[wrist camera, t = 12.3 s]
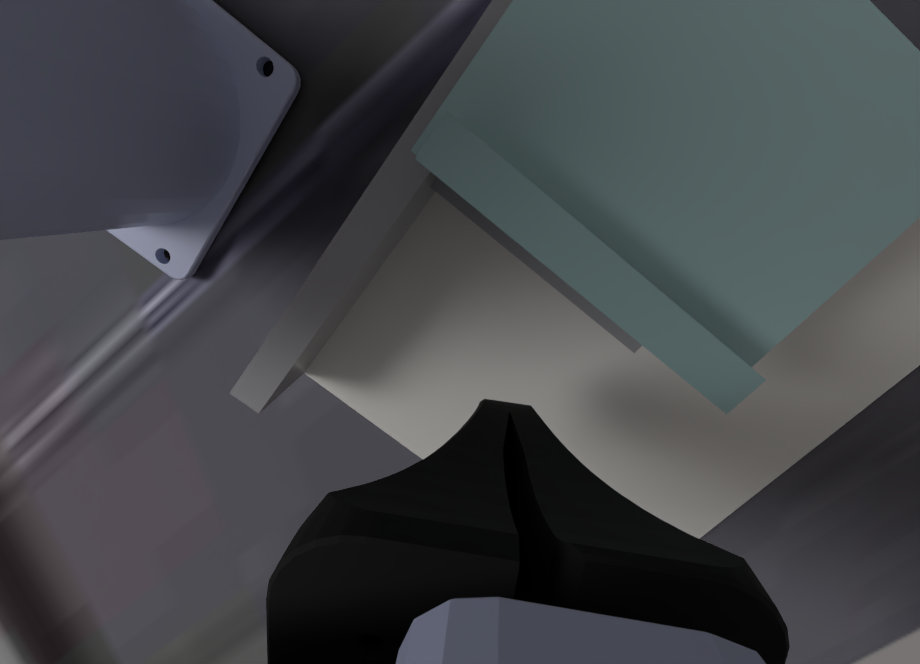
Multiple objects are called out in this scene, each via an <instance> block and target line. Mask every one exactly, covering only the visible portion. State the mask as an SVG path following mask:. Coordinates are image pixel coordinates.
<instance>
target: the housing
mask: <svg viewBox="0 0 920 664" xmlns="http://www.w3.org/2000/svg"><path fill="white" fill-rule="evenodd" d="M512 1H513V0H492V1H491V3H490V4H489V6H488V7H487V9H486V10H485V12H484V13H483V15H482V16H481V18H480V19H479V21H478V22H477V24H476V25H475V27H474V28H473V30H472V31H471V33H470V34H469V36H468V37H467V39H466V40H465V42H464V43H463V45H462V46H461V48H460V49H459V51H458V52H457V54H456V55H455V57H454V58H453V60H452V61H451V63H450V64H449V66H448V67H447V69H446V70H445V72H444V73H443V75H442V76H441V78H440V79H439V81H438V82H437V84H436V85H435V87H434V88H433V90H432V91H431V93H430V94H429V96H428V97H427V99H426V100H425V102H424V103H423V105H422V106H421V108H420V109H419V111H418V112H417V114H416V115H415V117H414V118H413V120H412V121H411V123H410V124H409V126H408V127H407V129H406V130H405V132H404V133H403V135H402V136H401V138H400V139H399V141H398V142H397V144H396V145H395V147H394V148H393V150H392V151H391V153H390V154H389V156H388V157H387V159H386V160H385V162H384V163H383V165H382V166H381V168H380V169H379V171H378V172H377V174H376V175H375V177H374V178H373V180H372V181H371V182H370V184H369V185H368V187H367V188H366V190H365V191H364V193H363V194H362V196H361V197H360V199H359V200H358V202H357V203H356V205H355V206H354V208H353V209H352V211H351V212H350V214H349V215H348V217H347V218H346V220H345V221H344V223H343V224H342V226H341V227H340V229H339V230H338V232H337V233H336V235H335V236H334V238H333V239H332V241H331V242H330V244H329V245H328V247H327V248H326V250H325V251H324V253H323V254H322V256H321V257H320V259H319V260H318V262H317V263H316V265H315V266H314V268H313V269H312V271H311V272H310V274H309V275H308V277H307V278H306V280H305V281H304V283H303V284H302V286H301V287H300V289H299V290H298V292H297V293H296V295H295V296H294V298H293V299H292V301H291V302H290V304H289V305H288V307H287V308H286V310H285V311H284V313H283V314H282V316H281V317H280V319H279V320H278V322H277V323H276V325H275V326H274V328H273V329H272V331H271V332H270V334H269V335H268V337H267V338H266V340H265V341H264V343H263V344H262V346H261V347H260V349H259V350H258V352H257V353H256V355H255V356H254V358H253V359H252V361H251V362H250V364H249V365H248V367H247V368H246V370H245V371H244V373H243V374H242V376H241V377H240V379H239V380H238V382H237V383H236V385H235V386H234V388H233V389H232V391H231V392H230V394H231V395H233V396H234V397H236V398H237V399H238V400H240V401H241V402H243V403H244V404H246V405H247V406H248V407H250V408H251V409H253V410H254V411H255V412H257V413H258V414H259V413H260V412H261V411H262V410H264V409H265V408H266V407H267V406H268V405H269V404H270V403H271V402H272V401H273V400H275V399H276V398H277V397H278V396H279V395H280V394H281V393H282V392H283V391H285V390H286V389H287V388H288V387H289V386H290V385H291V384H292V383H293V382H295V381H296V380H297V379H298V378H299V377H300V376H301V375H302V374H303V373H305V374H306V375H307V376H309V377H310V378H312V379H313V380H314V381H316V382H317V383H318V384H320V385H321V386H323V387H324V388H325V389H327V390H328V391H329V392H331V393H332V394H334V395H335V396H336V397H338V398H339V399H340V400H342V401H343V402H345V403H346V404H347V405H349V406H350V407H351V408H353V409H354V410H356V411H357V412H358V413H360V414H361V415H362V416H364V417H365V418H367V419H368V420H369V421H371V422H372V423H373V424H375V425H376V426H378V427H379V428H380V429H382V430H383V431H384V432H386V433H387V434H389V435H390V436H391V437H393V438H394V439H395V440H397V441H398V442H400V443H401V444H402V445H404V446H405V447H406V448H408V449H409V450H410V451H412V452H413V453H415V454H416V455H417V456H419V457H420V458H421V459H425V458H426V457H428V456H429V455H431V454H432V453H433V452H435V451H436V450H437V449H439V448H440V447H441V446H442V445H444V444H445V443H446V442H447V441H448V440H449V439H450V438H451V437H452V436H453V435H455V434H456V433H457V432H458V431H459V430H460V429H461V428H462V426H463V425H464V424H465V423H466V422H467V421H468V419H469V418H470V417H471V416H472V414H473V413H474V412H475V410H476V409H477V407H478V405H479V402H480V401H482V400H483V399H490V400H497V401H503V402H510V403H517V404H524V405H531V406H532V407H533V409H534V410H535V411H536V412H537V414H538V415H539V416H540V418H541V419H542V420H543V421H544V423H545V424H546V425H547V426H548V428H549V429H550V430H551V431H552V432H553V434H554V435H555V436H556V437H557V438H558V439H559V440H560V441H561V443H562V444H563V445H564V446H565V447H566V448H567V449H568V450H569V451H570V452H571V453H572V454H573V455H574V456H575V457H576V458H577V459H578V460H579V461H580V462H581V463H582V464H583V465H584V466H586V467H587V468H588V469H589V470H590V471H591V472H592V473H594V474H595V475H596V476H597V477H599V478H600V479H601V480H602V481H604V482H605V483H606V484H607V485H609V486H610V487H611V488H613V489H614V490H615V491H617V492H618V493H620V494H621V495H623V496H624V497H626V498H627V499H629V500H630V501H632V502H633V503H635V504H636V505H638V506H639V507H641V508H642V509H644V510H646V511H647V512H649V513H651V514H653V515H654V516H656V517H658V518H659V519H661V520H663V521H665V522H667V523H669V524H671V525H673V526H674V527H676V528H678V529H680V530H682V531H684V532H686V533H688V534H690V535H692V536H694V537H696V538H699V539H700V538H701V537H702V536H703V535H705V534H706V533H707V532H708V531H710V530H711V529H712V528H714V527H715V526H716V525H717V524H719V523H720V522H721V521H722V520H724V519H725V518H726V517H727V516H729V515H730V514H731V513H733V512H734V511H735V510H736V509H738V508H739V507H740V506H741V505H743V504H744V503H745V502H747V501H748V500H749V499H750V498H752V497H753V496H754V495H755V494H757V493H758V492H759V491H761V490H762V489H763V488H764V487H766V486H767V485H768V484H769V483H771V482H772V481H773V480H774V479H776V478H777V477H778V476H780V475H781V474H782V473H783V472H785V471H786V470H787V469H788V468H790V467H791V466H792V465H794V464H795V463H796V462H797V461H799V460H800V459H801V458H802V457H804V456H805V455H806V454H808V453H809V452H810V451H811V450H813V449H814V448H815V447H816V446H818V445H819V444H820V443H821V442H823V441H824V440H825V439H827V438H828V437H829V436H830V435H832V434H833V433H834V432H835V431H837V430H838V429H839V428H841V427H842V426H843V425H844V424H846V423H847V422H848V421H849V420H851V419H852V418H853V417H855V416H856V415H857V414H858V413H860V412H861V411H862V410H863V409H865V408H866V407H867V406H868V405H870V404H871V403H872V402H874V401H875V400H876V399H877V398H879V397H880V396H881V395H882V394H884V393H885V392H886V391H888V390H889V389H890V388H891V387H893V386H894V385H895V384H896V383H898V382H899V381H900V380H902V379H903V378H904V377H905V376H907V375H908V374H909V373H910V372H912V371H913V370H914V369H915V368H917V367H918V366H919V365H920V218H919V219H917V220H916V221H915V222H914V223H913V224H912V225H911V226H910V227H908V228H907V229H906V230H905V231H904V232H903V233H902V234H901V235H900V236H898V237H897V238H896V239H895V240H894V241H893V242H892V243H891V244H889V245H888V246H887V247H886V248H885V249H884V250H883V251H882V252H880V253H879V254H878V255H877V256H876V257H875V258H874V259H873V260H871V261H870V262H869V263H868V264H867V265H866V266H865V267H864V268H862V269H861V270H860V271H859V272H858V273H857V274H856V275H855V276H854V277H852V278H851V279H850V280H849V281H848V282H847V283H846V284H845V285H843V286H842V287H841V288H840V289H839V290H838V291H837V292H836V293H834V294H833V295H832V296H831V297H830V298H829V299H828V300H827V301H825V302H824V303H823V304H822V305H821V306H820V307H819V308H818V309H817V310H815V311H814V312H813V313H812V314H811V315H810V316H809V317H808V318H806V319H805V320H804V321H803V322H802V323H801V324H800V325H799V326H797V327H796V328H795V329H794V330H793V331H792V332H791V333H790V334H788V335H787V336H786V337H785V338H784V339H783V340H782V341H781V342H779V343H778V344H777V345H776V346H775V347H774V348H773V349H772V350H771V351H769V352H768V353H767V354H766V355H765V356H764V357H763V358H762V359H760V360H759V361H758V362H757V363H756V364H755V365H754V366H753V367H751V368H753V369H754V370H755V371H756V372H757V373H758V374H760V375H761V376H762V377H763V378H764V379H766V381H765V382H763V383H762V384H761V385H760V386H759V387H758V388H756V389H755V390H754V391H753V392H752V393H751V394H750V395H748V396H747V397H746V398H745V399H744V400H743V401H742V402H740V403H739V404H738V405H737V406H736V407H735V408H734V409H732V410H731V411H730V412H729V413H728V414H725V413H724V412H723V411H722V410H720V409H719V408H718V407H717V406H716V405H714V404H713V403H712V402H711V401H709V400H708V399H707V398H706V397H705V396H703V395H702V394H701V393H700V392H699V391H697V390H696V389H695V388H694V387H692V386H691V385H690V384H689V383H688V382H686V381H685V380H684V379H683V378H681V377H680V376H679V375H678V374H677V373H675V372H674V371H673V370H672V369H670V368H669V367H668V366H667V365H666V364H664V363H663V362H662V361H661V360H660V359H658V358H657V357H656V356H655V355H653V354H652V353H651V352H650V351H649V350H647V349H646V348H645V347H644V346H642V345H641V344H640V343H639V342H638V341H636V340H635V339H634V338H633V337H631V336H630V335H629V334H628V333H627V332H625V331H624V330H623V329H622V328H621V327H619V326H618V325H617V324H616V323H614V322H613V321H612V320H611V319H610V318H608V317H607V316H606V315H605V314H603V313H602V312H601V311H600V310H599V309H597V308H596V307H595V306H594V305H592V304H591V303H590V302H589V301H588V300H586V299H585V298H584V297H583V296H581V295H580V294H579V293H578V292H577V291H575V290H574V289H573V288H572V287H571V286H569V285H568V284H567V283H566V282H564V281H563V280H562V279H561V278H560V277H558V276H557V275H556V274H555V273H553V272H552V271H551V270H550V269H549V268H547V267H546V266H545V265H544V264H542V263H541V262H540V261H539V260H538V259H536V258H535V257H534V256H533V255H532V254H530V253H529V252H528V251H527V250H525V249H524V248H523V247H522V246H521V245H519V244H518V243H517V242H516V241H514V240H513V239H512V238H511V237H510V236H508V235H507V234H506V233H505V232H503V231H502V230H501V229H500V228H499V227H497V226H496V225H495V224H494V223H492V222H491V221H490V220H489V219H488V218H486V217H485V216H484V215H483V214H482V213H480V212H479V211H478V210H477V209H475V208H474V207H473V206H472V205H471V204H469V203H468V202H467V201H466V200H464V199H463V198H462V197H461V196H460V195H458V194H457V193H456V192H455V191H453V190H452V189H451V188H450V187H449V186H447V185H446V184H445V183H444V182H443V181H441V180H440V179H439V178H438V177H436V176H435V175H434V174H433V173H432V172H430V171H429V170H428V169H427V168H425V167H424V166H423V165H422V164H421V163H419V162H418V161H417V160H416V159H415V158H416V157H417V155H415V154H414V153H413V152H412V151H411V149H412V148H413V146H414V145H415V143H416V142H417V140H418V139H419V137H420V136H421V134H422V133H423V131H424V130H425V128H426V127H427V126H428V124H429V123H430V121H431V120H432V118H433V117H434V115H435V114H436V112H437V111H438V109H439V108H440V106H441V105H442V104H443V102H444V101H445V99H446V98H447V96H448V95H449V93H450V92H451V90H452V89H453V87H454V86H455V84H456V83H457V82H458V80H459V79H460V77H461V76H462V74H463V73H464V71H465V70H466V68H467V67H468V65H469V64H470V62H471V61H472V60H473V58H474V57H475V55H476V54H477V52H478V51H479V49H480V48H481V46H482V45H483V43H484V42H485V40H486V39H487V38H488V36H489V35H490V33H491V32H492V30H493V29H494V27H495V26H496V24H497V23H498V21H499V20H500V18H501V17H502V16H503V14H504V13H505V11H506V10H507V8H508V7H509V5H510V4H511V2H512Z"/></svg>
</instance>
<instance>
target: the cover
mask: <svg viewBox="0 0 920 664" xmlns="http://www.w3.org/2000/svg"><path fill="white" fill-rule="evenodd" d="M411 151H412V152H413V153H414V154H415V155H417V157H416V158H415V159H416V160H417V161H418V162H419V163H421V164H422V165H423V166H424V167H425V168H427V169H428V170H429V171H430V172H432V173H433V174H434V175H435V176H436V177H438V178H439V179H440V180H441V181H443V182H444V183H445V184H446V185H447V186H449V187H450V188H451V189H452V190H453V191H455V192H456V193H457V194H458V195H460V196H461V197H462V198H463V199H464V200H466V201H467V202H468V203H469V204H471V205H472V206H473V207H474V208H475V209H477V210H478V211H479V212H480V213H482V214H483V215H484V216H485V217H486V218H488V219H489V220H490V221H491V222H492V223H494V224H495V225H496V226H497V227H499V228H500V229H501V230H502V231H503V232H505V233H506V234H507V235H508V236H510V237H511V238H512V239H513V240H514V241H516V242H517V243H518V244H519V245H521V246H522V247H523V248H524V249H525V250H527V251H528V252H529V253H530V254H532V255H533V256H534V257H535V258H536V259H538V260H539V261H540V262H541V263H542V264H544V265H545V266H546V267H547V268H549V269H550V270H551V271H552V272H553V273H555V274H556V275H557V276H558V277H560V278H561V279H562V280H563V281H564V282H566V283H567V284H568V285H569V286H571V287H572V288H573V289H574V290H575V291H577V292H578V293H579V294H580V295H581V296H583V297H584V298H585V299H586V300H588V301H589V302H590V303H591V304H592V305H594V306H595V307H596V308H597V309H599V310H600V311H601V312H602V313H603V314H605V315H606V316H607V317H608V318H610V319H611V320H612V321H613V322H614V323H616V324H617V325H618V326H619V327H621V328H622V329H623V330H624V331H625V332H627V333H628V334H629V335H630V336H631V337H633V338H634V339H635V340H636V341H638V342H639V343H640V344H641V345H642V346H644V347H645V348H646V349H647V350H649V351H650V352H651V353H652V354H653V355H655V356H656V357H657V358H658V359H660V360H661V361H662V362H663V363H664V364H666V365H667V366H668V367H669V368H670V369H672V370H673V371H674V372H675V373H677V374H678V375H679V376H680V377H681V378H683V379H684V380H685V381H686V382H688V383H689V384H690V385H691V386H692V387H694V388H695V389H696V390H697V391H699V392H700V393H701V394H702V395H703V396H705V397H706V398H707V399H708V400H709V401H711V402H712V403H713V404H714V405H716V406H717V407H718V408H719V409H720V410H722V411H723V412H724V413H725V414H728V413H729V412H730V411H731V410H732V409H734V408H735V407H736V406H737V405H738V404H739V403H740V402H742V401H743V400H744V399H745V398H746V397H747V396H748V395H750V394H751V393H752V392H753V391H754V390H755V389H756V388H758V387H759V386H760V385H761V384H762V383H763V382H765V381H766V379H764V378H763V377H762V376H761V375H760V374H758V373H757V372H756V371H755V370H754V369H753V368H751V367H753V366H754V365H755V364H756V363H757V362H758V361H759V360H760V359H762V358H763V357H764V356H765V355H766V354H767V353H768V352H769V351H771V350H772V349H773V348H774V347H775V346H776V345H777V344H778V343H779V342H781V341H782V340H783V339H784V338H785V337H786V336H787V335H788V334H790V333H791V332H792V331H793V330H794V329H795V328H796V327H797V326H799V325H800V324H801V323H802V322H803V321H804V320H805V319H806V318H808V317H809V316H810V315H811V314H812V313H813V312H814V311H815V310H817V309H818V308H819V307H820V306H821V305H822V304H823V303H824V302H825V301H827V300H828V299H829V298H830V297H831V296H832V295H833V294H834V293H836V292H837V291H838V290H839V289H840V288H841V287H842V286H843V285H845V284H846V283H847V282H848V281H849V280H850V279H851V278H852V277H854V276H855V275H856V274H857V273H858V272H859V271H860V270H861V269H862V268H864V267H865V266H866V265H867V264H868V263H869V262H870V261H871V260H873V259H874V258H875V257H876V256H877V255H878V254H879V253H880V252H882V251H883V250H884V249H885V248H886V247H887V246H888V245H889V244H891V243H892V242H893V241H894V240H895V239H896V238H897V237H898V236H900V235H901V234H902V233H903V232H904V231H905V230H906V229H907V228H908V227H910V226H911V225H912V224H913V223H914V222H915V221H916V220H917V219H919V218H920V51H919V50H918V49H917V48H916V47H915V46H914V45H913V44H912V43H911V42H910V41H909V40H908V39H907V38H906V37H905V36H904V35H903V34H902V33H901V32H900V31H899V30H898V29H897V28H896V27H895V25H894V24H893V23H892V22H891V21H890V20H889V19H888V18H887V17H886V16H885V15H884V14H883V13H882V12H881V11H880V10H879V9H878V8H877V7H876V6H875V5H874V4H873V3H872V2H871V1H870V0H513V1H512V2H511V4H510V5H509V7H508V8H507V10H506V11H505V13H504V14H503V16H502V17H501V18H500V20H499V21H498V23H497V24H496V26H495V27H494V29H493V30H492V32H491V33H490V35H489V36H488V38H487V39H486V40H485V42H484V43H483V45H482V46H481V48H480V49H479V51H478V52H477V54H476V55H475V57H474V58H473V60H472V61H471V62H470V64H469V65H468V67H467V68H466V70H465V71H464V73H463V74H462V76H461V77H460V79H459V80H458V82H457V83H456V84H455V86H454V87H453V89H452V90H451V92H450V93H449V95H448V96H447V98H446V99H445V101H444V102H443V104H442V105H441V106H440V108H439V109H438V111H437V112H436V114H435V115H434V117H433V118H432V120H431V121H430V123H429V124H428V126H427V127H426V128H425V130H424V131H423V133H422V134H421V136H420V137H419V139H418V140H417V142H416V143H415V145H414V146H413V148H412V149H411Z"/></svg>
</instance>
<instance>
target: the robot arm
mask: <svg viewBox="0 0 920 664" xmlns="http://www.w3.org/2000/svg"><path fill="white" fill-rule="evenodd" d="M270 60H271V61H272V62H273V66H274V69H273V73H272V74H271V75H270V76H269V77H266V76H265V75H264V72H263V67H264V64H265V63H266V62H267V61H270ZM300 87H301V79H300V76H299V73H298V71H297V70H296V69H295V68H294V66H292V65H291V64H290V63H289V62H288V61H286V60H285V59H284V58H283V57H281V56H280V55H279V54H278V53H277V52H275V51H274V50H273V49H272V48H270V47H269V46H268V45H267V44H266V43H264V42H263V41H262V40H261V39H259V38H258V37H257V36H256V35H255V34H253V33H252V32H251V31H250V30H248V29H247V28H246V27H245V26H244V25H242V24H241V23H240V22H239V21H237V20H236V19H235V18H234V17H233V16H231V15H230V14H229V13H228V12H226V11H225V10H224V9H223V8H222V7H220V6H219V5H218V4H217V3H215V2H214V1H213V0H0V240H4V239H15V238H25V237H36V236H46V235H57V234H68V233H78V232H89V231H99V230H107V231H108V232H110V233H111V234H112V235H114V236H115V237H117V238H118V239H119V240H121V241H122V242H123V243H125V244H126V245H128V246H129V247H130V248H132V249H133V250H134V251H136V252H137V253H139V254H140V255H141V256H143V257H144V258H145V259H147V260H148V261H150V262H151V263H152V264H154V265H155V266H156V267H158V268H159V269H161V270H162V271H163V272H165V273H166V274H167V275H169V276H170V277H172V278H174V279H178V280H182V279H186V278H189V277H192V276H193V275H194V274H195V272H196V271H197V269H198V267H199V265H200V264H201V262H202V260H203V258H204V257H205V255H206V253H207V251H208V250H209V248H210V246H211V244H212V243H213V241H214V239H215V237H216V236H217V234H218V232H219V230H220V229H221V227H222V225H223V223H224V222H225V220H226V218H227V216H228V215H229V213H230V211H231V209H232V208H233V206H234V204H235V202H236V201H237V199H238V197H239V195H240V194H241V192H242V190H243V188H244V187H245V185H246V183H247V181H248V180H249V178H250V176H251V175H252V173H253V171H254V169H255V168H256V166H257V164H258V162H259V161H260V159H261V157H262V155H263V154H264V152H265V150H266V148H267V147H268V145H269V143H270V141H271V140H272V138H273V136H274V134H275V133H276V131H277V129H278V127H279V126H280V124H281V122H282V120H283V119H284V117H285V115H286V113H287V112H288V110H289V108H290V106H291V105H292V103H293V101H294V99H295V98H296V96H297V94H298V92H299V90H300ZM165 249H166V250H167V251H168V252H169V254H170V257H171V258H170V261H168V260H167V259H166V258H165V256H164V250H165ZM266 610H267V654H268V664H785V662H786V658H787V654H788V651H789V640H788V631H787V626H786V624H785V622H784V621H783V619H782V617H781V615H780V613H779V611H778V609H777V607H776V606H775V604H774V603H773V601H772V600H771V598H770V597H769V595H768V594H767V592H766V591H765V589H764V588H763V586H762V585H761V583H760V582H759V580H758V578H757V577H756V575H755V574H754V572H753V571H752V569H751V568H750V567H749V565H748V564H747V562H746V561H745V560H744V558H741V557H739V556H737V555H735V554H732V553H730V552H728V551H726V550H723V549H721V548H719V547H717V546H714V545H712V544H710V543H708V542H705V541H703V540H701V539H699V538H696V537H694V536H692V535H690V534H688V533H686V532H684V531H682V530H680V529H678V528H676V527H674V526H673V525H671V524H669V523H667V522H665V521H663V520H661V519H659V518H658V517H656V516H654V515H653V514H651V513H649V512H647V511H646V510H644V509H642V508H641V507H639V506H638V505H636V504H635V503H633V502H632V501H630V500H629V499H627V498H626V497H624V496H623V495H621V494H620V493H618V492H617V491H615V490H614V489H613V488H611V487H610V486H609V485H607V484H606V483H605V482H604V481H602V480H601V479H600V478H599V477H597V476H596V475H595V474H594V473H592V472H591V471H590V470H589V469H588V468H587V467H586V466H584V465H583V464H582V463H581V462H580V461H579V460H578V459H577V458H576V457H575V456H574V455H573V454H572V453H571V452H570V451H569V450H568V449H567V448H566V447H565V446H564V445H563V444H562V443H561V441H560V440H559V439H558V438H557V437H556V436H555V435H554V434H553V432H552V431H551V430H550V429H549V428H548V426H547V425H546V424H545V423H544V421H543V420H542V419H541V418H540V416H539V415H538V414H537V412H536V411H535V410H534V409H533V407H532V406H531V405H524V404H517V403H510V402H503V401H497V400H490V399H483V400H482V401H480V402H479V405H478V407H477V409H476V410H475V412H474V413H473V414H472V416H471V417H470V418H469V419H468V421H467V422H466V423H465V424H464V425H463V426H462V428H461V429H460V430H459V431H458V432H457V433H456V434H455V435H453V436H452V437H451V438H450V439H449V440H448V441H447V442H446V443H445V444H444V445H442V446H441V447H440V448H439V449H437V450H436V451H435V452H433V453H432V454H431V455H429V456H428V457H426V458H425V459H423V460H421V461H419V462H418V463H416V464H414V465H412V466H410V467H408V468H406V469H404V470H402V471H400V472H398V473H395V474H393V475H390V476H388V477H385V478H382V479H379V480H377V481H374V482H370V483H367V484H363V485H359V486H355V487H351V488H347V489H343V490H339V491H334V492H329V493H328V494H327V495H326V496H325V498H324V499H323V500H322V501H321V502H320V504H319V505H318V506H317V507H316V508H315V510H314V511H313V512H312V513H311V514H310V516H309V517H308V518H307V519H306V521H305V522H304V523H303V524H302V526H301V527H300V529H299V530H298V532H297V533H296V535H295V536H294V538H293V539H292V541H291V543H290V544H289V546H288V548H287V549H286V551H285V553H284V555H283V556H282V558H281V560H280V561H279V563H278V565H277V567H276V569H275V570H274V572H273V574H272V576H271V578H270V580H269V584H268V591H267V598H266Z"/></svg>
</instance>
